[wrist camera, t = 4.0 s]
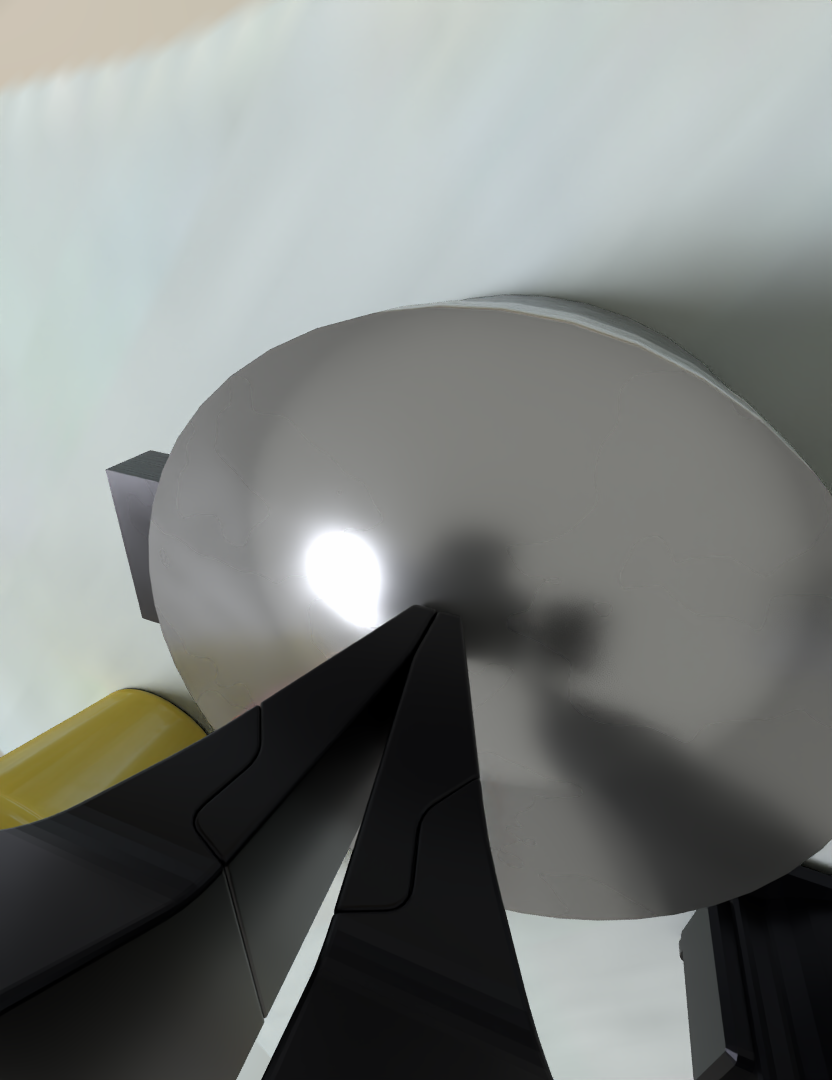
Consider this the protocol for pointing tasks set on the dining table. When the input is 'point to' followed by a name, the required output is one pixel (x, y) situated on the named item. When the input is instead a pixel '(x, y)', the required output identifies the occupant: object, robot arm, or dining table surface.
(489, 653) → the cooker lid
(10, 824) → the plant pot
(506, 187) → the dining table surface
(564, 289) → the dining table surface
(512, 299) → the cooker pot
